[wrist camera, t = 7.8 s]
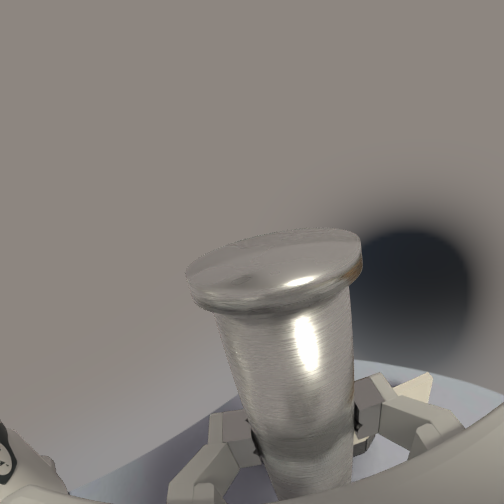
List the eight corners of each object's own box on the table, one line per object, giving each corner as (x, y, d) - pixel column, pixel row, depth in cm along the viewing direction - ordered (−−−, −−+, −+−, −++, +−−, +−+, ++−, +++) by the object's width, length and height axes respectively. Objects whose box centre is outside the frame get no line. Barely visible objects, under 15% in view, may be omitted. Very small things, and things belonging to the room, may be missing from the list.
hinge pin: (282, 545, 9) (169, 305, 5) (273, 487, 13) (196, 249, 9) (364, 524, 9) (394, 253, 5) (344, 470, 13) (326, 220, 10)
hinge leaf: (325, 465, 23) (322, 440, 22) (311, 426, 30) (307, 398, 28) (436, 420, 24) (445, 390, 22) (412, 389, 30) (416, 360, 29)
